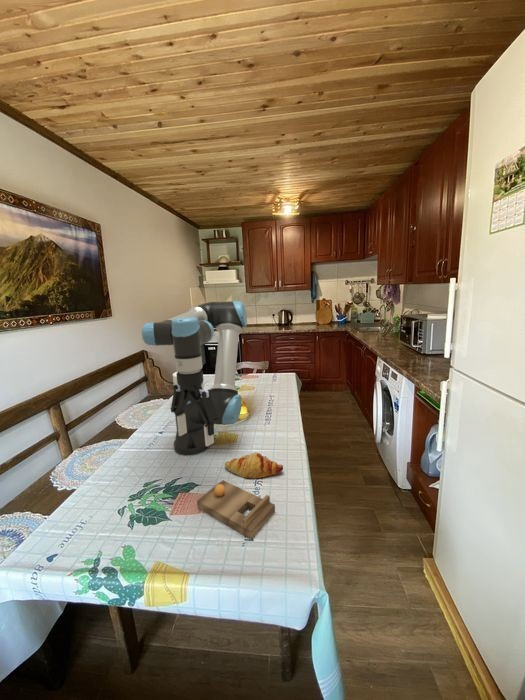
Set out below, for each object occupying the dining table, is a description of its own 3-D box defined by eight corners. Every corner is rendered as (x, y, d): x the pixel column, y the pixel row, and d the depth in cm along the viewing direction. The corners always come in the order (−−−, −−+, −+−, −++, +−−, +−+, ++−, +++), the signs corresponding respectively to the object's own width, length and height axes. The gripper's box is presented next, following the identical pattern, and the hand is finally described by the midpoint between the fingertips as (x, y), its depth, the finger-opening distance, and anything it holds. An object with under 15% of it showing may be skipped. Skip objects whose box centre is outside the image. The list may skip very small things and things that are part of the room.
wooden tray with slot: (197, 508, 84) (196, 494, 83) (223, 487, 93) (222, 474, 92) (251, 539, 72) (250, 524, 71) (275, 512, 81) (274, 498, 80)
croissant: (223, 482, 100) (218, 470, 96) (229, 456, 108) (225, 444, 103) (283, 486, 96) (280, 474, 91) (285, 459, 104) (283, 446, 99)
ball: (212, 495, 85) (211, 486, 84) (219, 489, 88) (219, 480, 87) (220, 500, 83) (219, 490, 83) (227, 493, 86) (227, 484, 85)
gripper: (154, 368, 87) (161, 434, 91) (209, 379, 74) (215, 456, 78) (174, 363, 93) (180, 425, 97) (228, 372, 80) (233, 443, 84)
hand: (195, 439), depth 88 cm, fingers open, 11 cm apart
